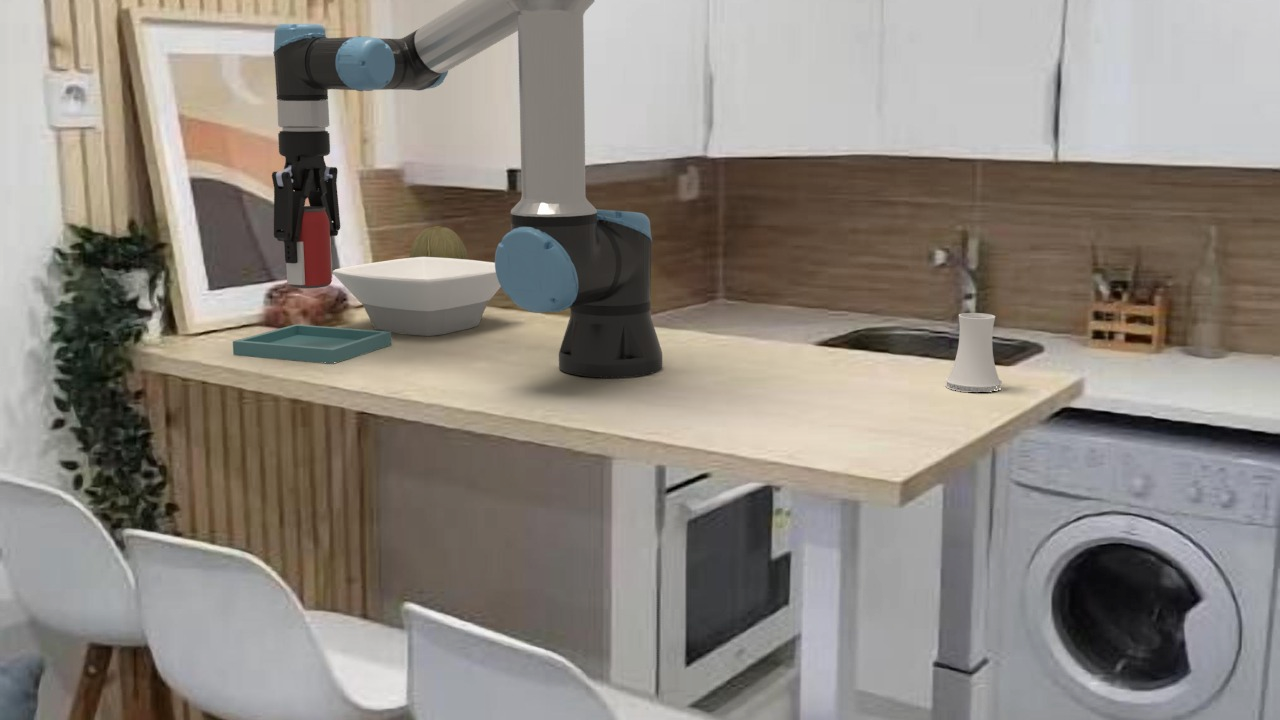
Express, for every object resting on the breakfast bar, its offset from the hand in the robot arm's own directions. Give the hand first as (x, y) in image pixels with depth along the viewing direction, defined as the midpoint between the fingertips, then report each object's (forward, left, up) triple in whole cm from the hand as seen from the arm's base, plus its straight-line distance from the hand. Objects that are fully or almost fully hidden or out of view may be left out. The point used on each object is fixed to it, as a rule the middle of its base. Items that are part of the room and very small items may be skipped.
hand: (310, 280), depth 212 cm
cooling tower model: (-99, -12, -11) cm, 100 cm away
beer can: (0, 0, -1) cm, 1 cm away
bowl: (-6, -24, -11) cm, 27 cm away
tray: (0, 0, -11) cm, 11 cm away
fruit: (+3, -44, -11) cm, 45 cm away
